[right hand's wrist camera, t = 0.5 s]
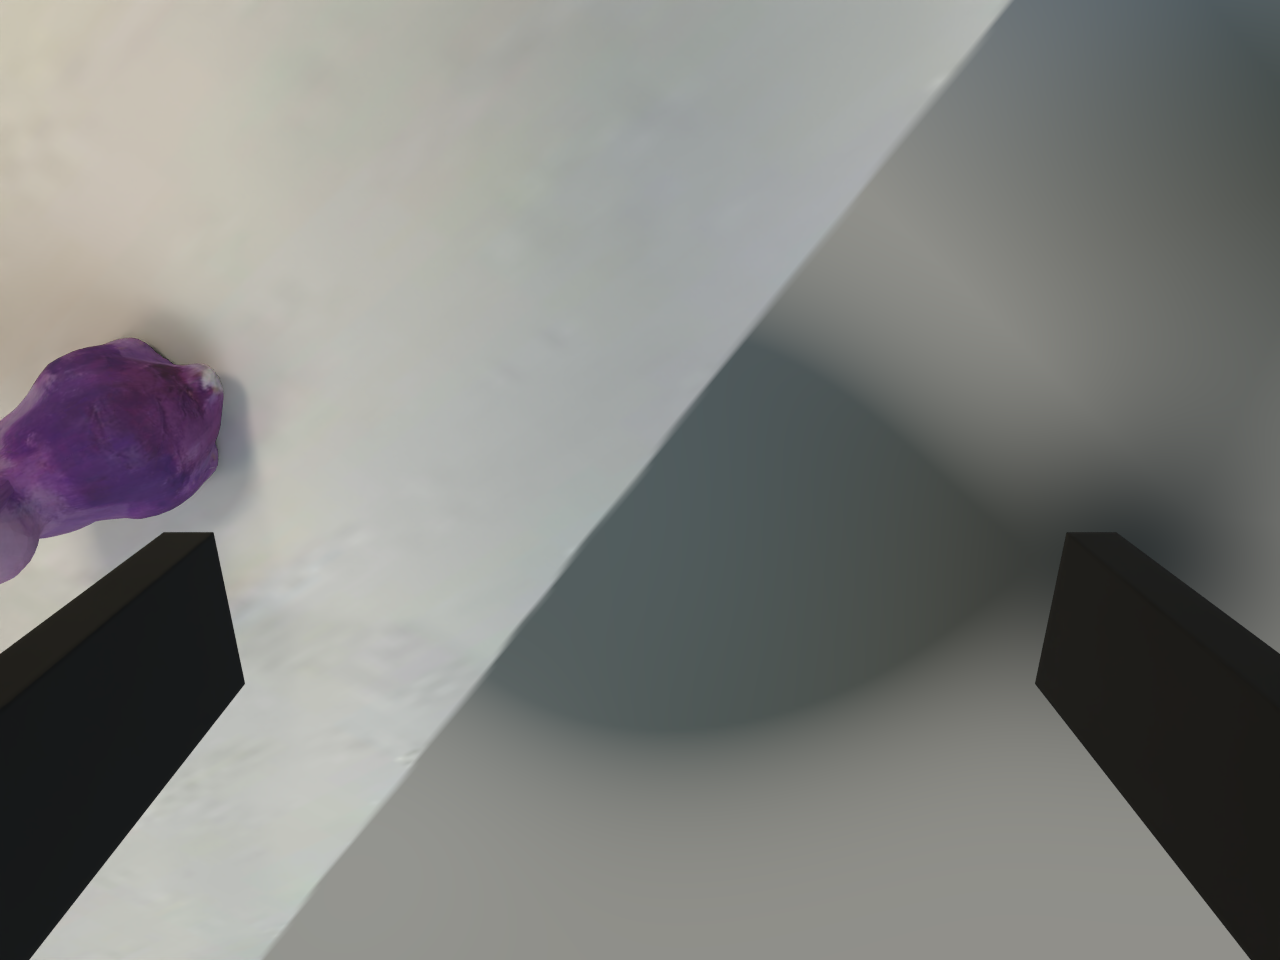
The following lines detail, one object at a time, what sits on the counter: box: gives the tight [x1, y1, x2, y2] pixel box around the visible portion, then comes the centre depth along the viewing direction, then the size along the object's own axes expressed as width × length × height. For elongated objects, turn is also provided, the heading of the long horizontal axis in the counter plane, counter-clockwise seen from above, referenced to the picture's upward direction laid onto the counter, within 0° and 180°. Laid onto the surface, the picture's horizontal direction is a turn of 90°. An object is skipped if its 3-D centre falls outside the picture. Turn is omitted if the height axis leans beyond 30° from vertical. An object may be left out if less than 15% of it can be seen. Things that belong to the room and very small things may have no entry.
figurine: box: [0, 338, 223, 584], centre depth 34 cm, size 9×10×15 cm
